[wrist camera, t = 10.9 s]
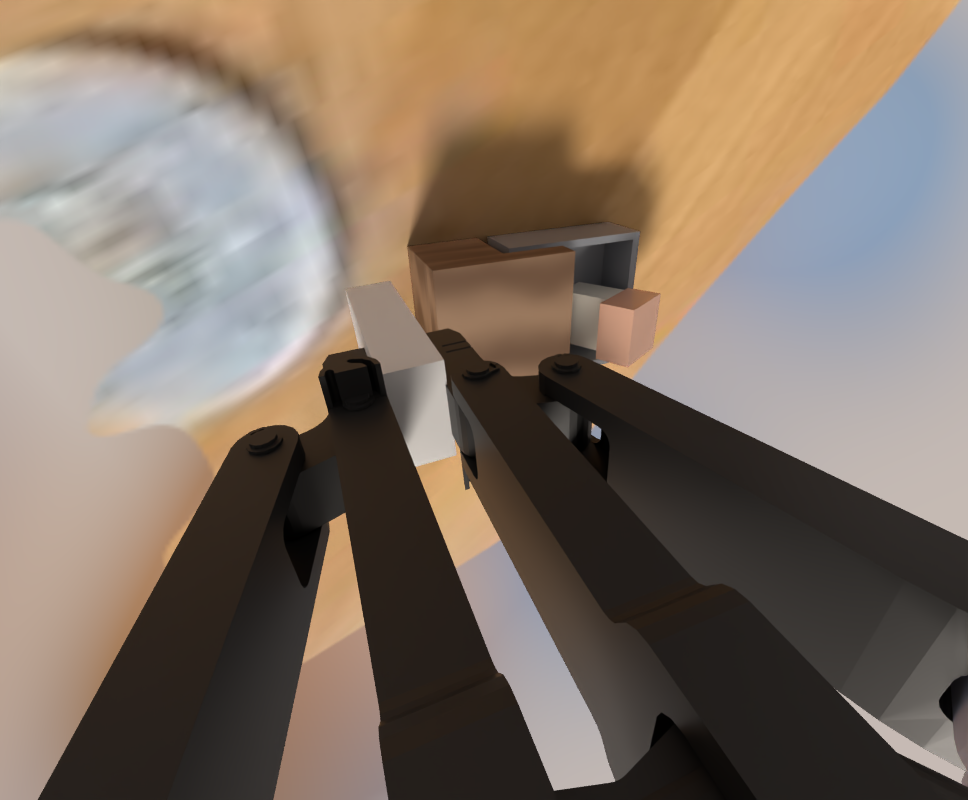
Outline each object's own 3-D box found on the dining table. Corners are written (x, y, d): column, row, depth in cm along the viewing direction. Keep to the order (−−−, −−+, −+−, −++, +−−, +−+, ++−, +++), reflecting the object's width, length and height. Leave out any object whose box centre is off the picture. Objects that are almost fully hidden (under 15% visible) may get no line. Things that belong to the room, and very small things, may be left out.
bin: (487, 236, 41) (509, 248, 37) (608, 221, 45) (640, 231, 41) (491, 362, 48) (510, 383, 44) (597, 341, 51) (624, 359, 47)
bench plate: (407, 246, 39) (432, 270, 33) (529, 231, 42) (575, 251, 36) (424, 394, 47) (448, 438, 40) (528, 372, 50) (566, 410, 43)
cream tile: (611, 300, 41) (627, 290, 43) (561, 290, 44) (579, 281, 46) (607, 353, 44) (623, 341, 46) (560, 340, 47) (577, 330, 49)
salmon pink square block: (600, 303, 40) (634, 310, 38) (627, 287, 43) (660, 293, 41) (595, 358, 42) (627, 367, 40) (622, 340, 45) (652, 347, 44)
